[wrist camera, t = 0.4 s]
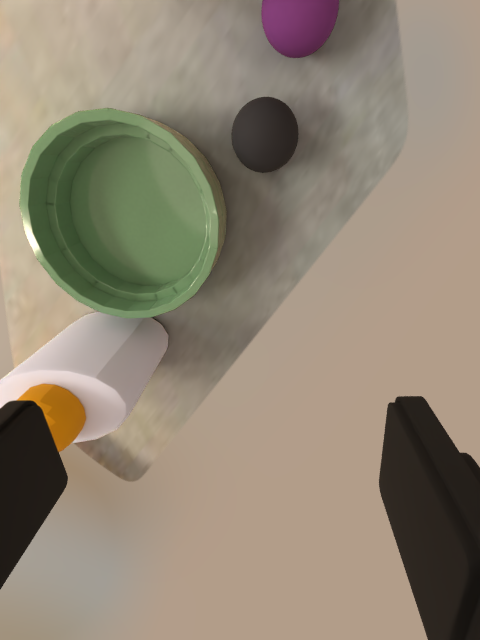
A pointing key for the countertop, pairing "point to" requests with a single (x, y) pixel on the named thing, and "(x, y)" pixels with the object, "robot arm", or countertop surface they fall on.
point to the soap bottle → (89, 375)
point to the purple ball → (298, 24)
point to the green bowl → (122, 212)
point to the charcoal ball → (264, 134)
